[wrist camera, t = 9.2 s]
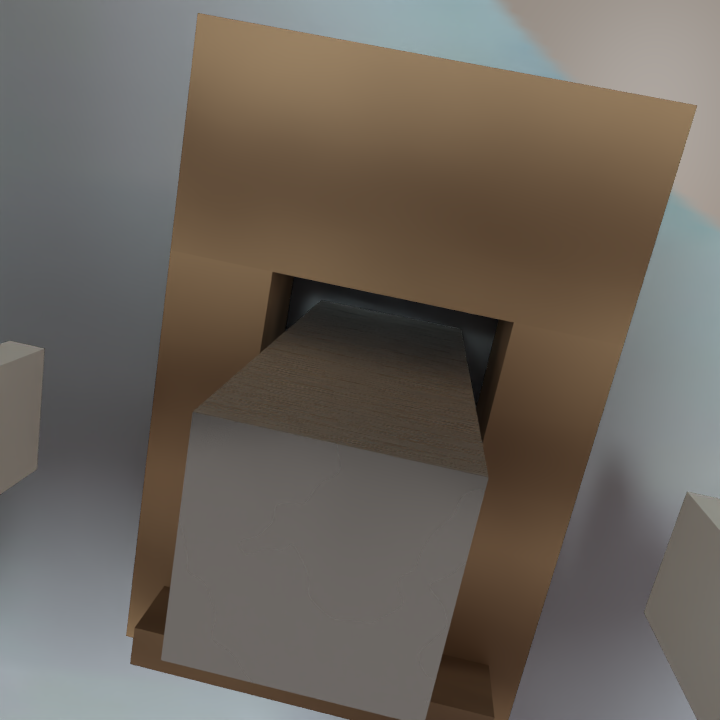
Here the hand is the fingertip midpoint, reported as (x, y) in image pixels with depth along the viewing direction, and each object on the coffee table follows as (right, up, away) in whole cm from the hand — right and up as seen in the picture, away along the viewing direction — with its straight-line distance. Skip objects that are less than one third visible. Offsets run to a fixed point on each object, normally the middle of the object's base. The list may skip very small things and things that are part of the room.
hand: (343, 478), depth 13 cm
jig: (+1, +2, +7) cm, 8 cm away
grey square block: (+1, +2, +8) cm, 8 cm away
